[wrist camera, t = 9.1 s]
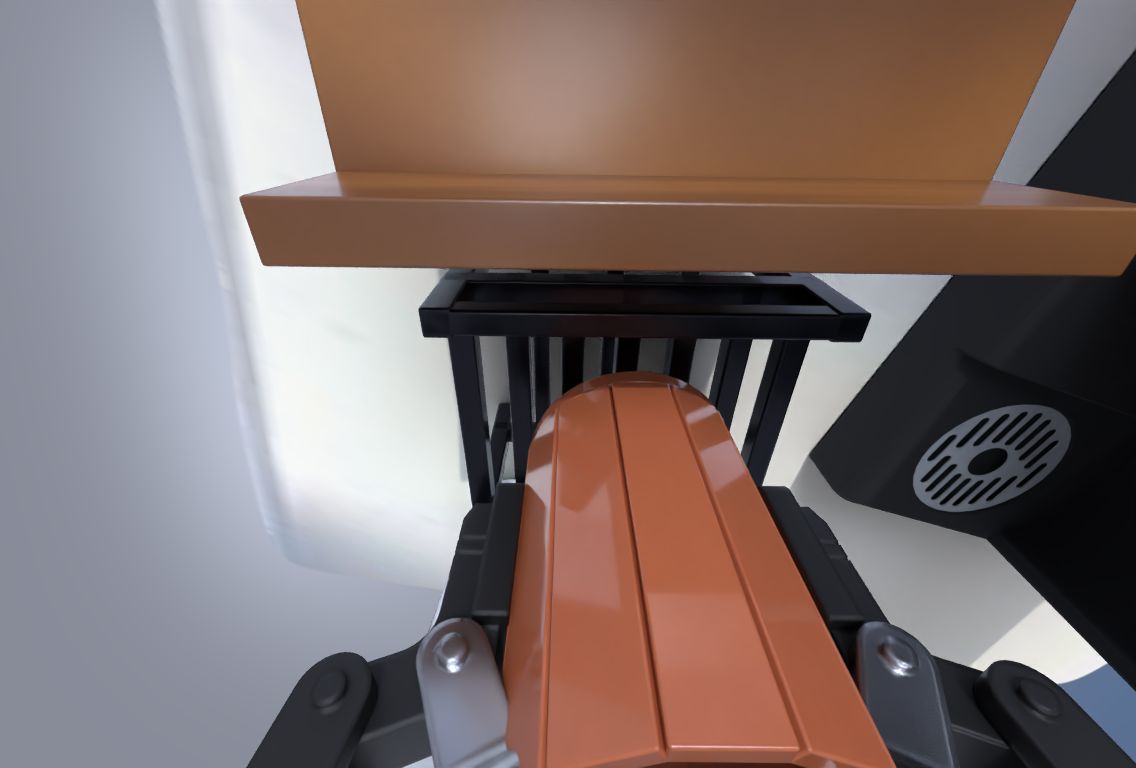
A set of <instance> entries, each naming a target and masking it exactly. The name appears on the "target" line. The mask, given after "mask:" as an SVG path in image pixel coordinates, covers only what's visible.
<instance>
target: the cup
mask: <svg viewBox="0 0 1136 768" xmlns="http://www.w3.org/2000/svg"><path fill="white" fill-rule="evenodd" d="M501 681H502V684H503V687H504V690H505V693H506V696H507V699H508V702H509V708H508V718H507V727H506V747H507V750H509V751H512V750H513V751H515V752H516V753H517V755H518V759H519V766H520V768H897V767H896V765H895V763H894V761H893V759H892V757H891V755H890V753H889V751H888V749H887V747H886V745H885V743H884V741H883V739H882V737H881V735H880V733H879V731H878V729H877V727H876V725H875V723H874V721H873V719H872V717H871V715H870V713H869V711H868V709H867V707H866V705H865V703H864V701H863V699H862V697H861V695H860V693H859V691H858V689H857V687H856V685H855V683H854V681H853V679H852V677H851V675H850V673H849V671H848V669H847V667H846V665H845V663H844V661H843V659H842V657H841V655H840V653H839V651H838V649H837V647H836V645H835V643H834V641H833V639H832V637H831V635H830V633H829V631H828V629H827V627H826V625H825V623H824V621H823V619H822V617H821V615H820V613H819V611H818V609H817V607H816V605H815V603H814V601H813V599H812V597H811V595H810V593H809V591H808V589H807V587H806V585H805V583H804V581H803V579H802V577H801V575H800V573H799V571H798V569H797V567H796V565H795V563H794V561H793V559H792V557H791V555H790V553H789V551H788V549H787V547H786V545H785V543H784V541H783V539H782V537H781V535H780V533H779V531H778V529H777V527H776V525H775V523H774V521H773V519H772V517H771V515H770V513H769V511H768V509H767V507H766V505H765V503H764V501H763V499H762V497H761V495H760V493H759V491H758V489H757V487H756V485H755V483H754V481H753V479H752V477H751V475H750V473H749V471H748V469H747V467H746V465H745V463H744V461H743V459H742V457H741V455H740V453H739V451H738V449H737V447H736V445H735V443H734V441H733V439H732V437H731V435H730V433H729V431H728V429H727V427H726V425H725V423H724V421H723V419H722V417H721V415H720V413H719V411H718V410H717V409H716V407H715V406H714V405H713V404H712V403H711V401H710V400H709V399H708V398H707V397H706V396H705V395H704V394H702V393H701V392H700V391H699V390H697V389H696V388H694V387H693V386H691V385H690V384H687V383H685V382H683V381H681V380H679V379H677V378H674V377H670V376H667V375H664V374H659V373H653V372H643V371H626V372H617V373H611V374H606V375H603V376H599V377H595V378H593V379H590V380H588V381H585V382H583V383H581V384H579V385H577V386H575V387H574V388H572V389H570V390H569V391H567V392H566V393H565V394H563V395H562V396H560V397H559V398H558V399H557V400H556V401H555V402H554V403H553V404H552V405H551V406H550V407H549V408H548V410H547V411H546V412H545V413H544V415H543V416H542V418H541V420H540V421H539V423H538V425H537V427H536V430H535V432H534V436H533V440H532V442H531V444H530V448H529V453H528V461H527V469H526V477H525V491H524V500H523V508H522V517H521V525H520V534H519V542H518V551H517V559H516V568H515V576H514V585H513V593H512V602H511V610H510V619H509V626H508V627H507V634H506V642H505V650H504V659H503V667H502V675H501Z"/></svg>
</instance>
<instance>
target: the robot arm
mask: <svg viewBox="0 0 1136 768" xmlns="http://www.w3.org/2000/svg"><path fill="white" fill-rule="evenodd" d="M756 487H757V489H758V491H759V493H760V495H761V497H762V499H763V501H764V503H765V505H766V507H767V509H768V511H769V513H770V515H771V517H772V519H773V521H774V523H775V525H776V527H777V529H778V531H779V533H780V535H781V537H782V539H783V541H784V543H785V545H786V547H787V549H788V551H789V553H790V555H791V557H792V559H793V561H794V563H795V565H796V567H797V569H798V571H799V573H800V575H801V577H802V579H803V581H804V583H805V585H806V587H807V589H808V591H809V593H810V595H811V597H812V599H813V601H814V603H815V605H816V607H817V609H818V611H819V613H820V615H821V617H822V619H823V621H824V623H825V625H826V627H827V629H828V631H829V633H830V635H831V637H832V639H833V641H834V643H835V645H836V647H837V649H838V651H839V653H840V655H841V657H842V659H843V661H844V663H845V665H846V667H847V669H848V671H849V673H850V675H851V677H852V679H853V681H854V683H855V685H856V687H857V689H858V691H859V693H860V695H861V697H862V699H863V701H864V703H865V705H866V707H867V709H868V711H869V713H870V715H871V717H872V719H873V721H874V723H875V725H876V727H877V729H878V731H879V733H880V735H881V737H882V739H883V741H884V743H885V745H886V747H887V749H888V751H889V753H890V755H891V757H892V759H893V761H894V763H895V765H896V767H897V768H1136V763H1135V762H1134V761H1133V760H1132V759H1131V758H1130V757H1129V756H1128V755H1127V754H1126V753H1125V752H1124V751H1123V750H1122V749H1121V748H1120V747H1119V746H1118V745H1117V744H1116V743H1115V742H1114V741H1113V740H1112V739H1111V738H1110V737H1109V736H1108V735H1107V734H1106V732H1105V731H1104V730H1102V728H1101V727H1100V726H1098V724H1097V723H1096V722H1095V721H1094V720H1093V719H1092V718H1091V717H1090V716H1089V715H1088V714H1087V713H1086V712H1085V711H1084V710H1083V709H1082V708H1081V707H1080V706H1079V705H1078V704H1077V703H1076V702H1075V701H1074V700H1073V699H1072V698H1071V697H1070V696H1069V695H1068V694H1067V693H1066V692H1065V691H1064V690H1063V689H1062V688H1061V687H1060V686H1058V685H1057V684H1056V683H1055V682H1053V681H1052V680H1051V679H1049V678H1048V677H1046V676H1045V675H1043V674H1042V673H1040V672H1038V671H1037V670H1035V669H1033V668H1031V667H1028V666H1026V665H1023V664H1021V663H1018V662H1014V661H1008V660H1000V661H996V662H994V663H992V664H991V665H990V666H989V667H988V668H987V669H986V670H985V671H984V672H983V671H980V670H977V669H973V668H970V667H967V666H964V665H961V664H957V663H954V662H951V661H948V660H945V659H941V658H939V657H936V656H933V655H931V654H930V653H929V651H928V650H927V649H926V648H925V647H924V646H923V645H922V644H921V643H920V642H919V641H918V640H917V639H916V638H914V637H913V636H912V635H910V634H909V633H907V632H906V631H904V630H902V629H901V628H899V627H896V626H894V625H891V624H890V623H889V621H888V620H887V618H886V617H885V615H884V614H883V612H882V611H881V609H880V607H879V606H878V604H877V603H876V601H875V599H874V598H873V596H872V595H871V593H870V591H869V590H868V588H867V587H866V585H865V583H864V582H863V580H862V579H861V577H860V576H859V574H858V572H857V571H856V569H855V568H854V566H853V564H852V563H851V561H850V560H848V559H847V557H848V556H847V555H846V553H845V552H844V550H843V548H842V547H841V545H838V540H837V539H836V537H835V536H834V534H833V532H832V531H831V529H830V528H829V526H828V525H827V523H826V522H825V521H824V520H823V519H821V518H820V517H819V516H818V515H817V514H816V513H815V512H814V511H812V510H811V509H810V508H809V507H800V506H799V505H798V503H797V501H796V499H795V498H794V496H793V494H792V493H791V491H790V490H789V489H788V488H787V487H785V486H756ZM524 491H525V483H497V484H496V488H495V493H494V498H493V503H475V505H474V506H473V507H472V509H471V510H470V511H469V512H468V514H467V515H466V516H465V518H464V520H463V524H462V528H461V531H460V535H459V540H458V543H457V547H456V551H455V555H454V558H453V562H452V566H451V570H450V574H449V578H448V581H447V585H446V589H445V593H444V597H443V601H442V605H441V608H440V612H439V615H438V618H437V620H436V622H435V624H434V625H433V627H432V628H431V630H430V631H429V632H428V633H427V634H426V636H425V637H423V638H422V639H421V640H420V641H419V642H417V643H416V644H415V645H413V646H411V647H410V648H408V649H406V650H403V651H400V652H397V653H394V654H392V655H388V656H385V657H382V658H379V659H376V660H373V661H370V662H367V661H366V660H365V659H364V658H363V657H362V656H360V655H358V654H355V653H350V652H343V653H337V654H334V655H331V656H329V657H326V658H324V659H323V660H321V661H319V662H318V663H316V664H315V665H314V666H312V667H311V668H310V669H309V670H308V671H307V672H306V673H305V674H304V675H303V676H302V678H301V679H300V680H299V682H298V683H297V685H296V686H295V688H294V689H293V691H292V693H291V694H290V696H289V698H288V699H287V701H286V703H285V704H284V706H283V708H282V709H281V711H280V713H279V714H278V716H277V717H276V719H275V721H274V723H273V724H272V726H271V727H270V729H269V731H268V732H267V734H266V736H265V738H264V739H263V741H262V742H261V744H260V746H259V747H258V749H257V751H256V752H255V754H254V756H253V758H252V759H251V761H250V762H249V764H248V766H247V767H246V768H403V767H405V766H408V765H410V764H413V763H415V762H418V761H420V760H423V759H425V758H427V757H430V756H432V758H433V764H434V768H520V766H519V759H518V755H517V753H516V752H515V751H513V750H512V751H509V750H507V747H506V727H507V718H508V708H509V702H508V699H507V696H506V693H505V690H504V687H503V684H502V681H501V675H502V667H503V659H504V650H505V642H506V634H507V627H508V626H509V619H510V610H511V602H512V593H513V585H514V576H515V568H516V559H517V551H518V542H519V534H520V525H521V517H522V508H523V500H524Z"/></svg>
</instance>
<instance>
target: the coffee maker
mask: <svg viewBox="0 0 1136 768" xmlns="http://www.w3.org/2000/svg"><path fill="white" fill-rule="evenodd" d="M1028 186H1029V187H1035V188H1042V189H1048V190H1054V191H1061V192H1067V193H1073V194H1079V195H1086V196H1092V197H1098V198H1105V199H1111V200H1117V201H1124V202H1130V203H1136V53H1135V54H1134V55H1133V56H1132V57H1131V59H1130V60H1129V61H1128V62H1127V64H1126V65H1125V66H1124V67H1123V69H1122V70H1121V71H1120V72H1119V74H1118V75H1117V76H1116V77H1115V78H1114V80H1113V81H1112V82H1111V83H1110V85H1109V86H1108V87H1107V88H1106V90H1105V91H1104V92H1103V93H1102V95H1101V96H1100V97H1099V98H1098V99H1097V101H1096V102H1095V103H1094V104H1093V106H1092V107H1091V108H1090V109H1089V111H1088V112H1087V113H1086V114H1085V116H1084V117H1083V118H1082V119H1081V120H1080V122H1079V123H1078V124H1077V125H1076V127H1075V128H1074V129H1073V130H1072V132H1071V133H1070V134H1069V135H1068V137H1067V138H1066V139H1065V140H1064V141H1063V143H1062V144H1061V145H1060V146H1059V148H1058V149H1057V150H1056V151H1055V153H1054V154H1053V155H1052V156H1051V158H1050V159H1049V160H1048V161H1047V162H1046V164H1045V165H1044V166H1043V167H1042V169H1041V170H1040V171H1039V172H1038V174H1037V175H1036V176H1035V177H1034V179H1033V180H1032V181H1031V182H1030V183H1029V185H1028ZM810 458H811V459H812V461H813V462H814V463H815V465H816V466H817V468H818V469H819V471H820V472H821V473H822V475H823V476H824V478H825V479H826V481H827V482H828V483H829V485H830V486H831V488H832V489H833V490H834V491H835V492H836V493H837V494H838V495H839V496H841V497H842V498H844V499H846V500H848V501H850V502H854V503H857V504H861V505H865V506H868V507H872V508H876V509H879V510H883V511H886V512H890V513H894V514H897V515H901V516H905V517H908V518H912V519H916V520H919V521H923V522H927V523H930V524H934V525H937V526H941V527H945V528H948V529H952V530H956V531H959V532H963V533H967V534H970V535H974V536H978V537H981V538H985V539H987V540H988V541H989V542H990V543H991V544H992V545H993V546H994V547H995V548H996V549H997V550H998V551H999V552H1000V554H1001V555H1002V556H1003V557H1004V558H1005V559H1006V560H1007V561H1008V562H1009V563H1010V564H1011V565H1012V566H1013V567H1014V568H1015V569H1016V570H1017V571H1018V572H1019V573H1020V574H1021V575H1022V576H1023V577H1024V578H1025V579H1026V580H1027V581H1028V582H1029V583H1030V584H1031V585H1032V586H1033V587H1034V588H1035V589H1036V590H1037V591H1038V592H1039V593H1040V594H1041V595H1042V596H1043V597H1044V598H1045V599H1046V600H1047V601H1048V602H1049V604H1050V605H1051V606H1052V607H1053V608H1054V609H1055V610H1056V611H1057V612H1058V613H1059V614H1060V615H1061V616H1062V617H1063V618H1064V619H1065V620H1066V621H1067V622H1068V623H1069V624H1070V625H1071V626H1072V627H1073V628H1074V629H1075V630H1076V631H1077V632H1078V633H1079V634H1080V635H1081V636H1082V637H1083V638H1084V639H1085V640H1086V641H1087V642H1088V643H1089V644H1090V645H1091V646H1092V647H1093V648H1094V649H1095V650H1096V651H1097V653H1098V654H1099V655H1100V656H1101V657H1102V658H1103V659H1104V660H1105V661H1106V662H1107V663H1108V664H1109V665H1110V666H1111V667H1112V668H1113V669H1114V670H1115V671H1116V672H1117V673H1118V674H1119V675H1120V676H1121V677H1122V678H1123V679H1124V680H1125V681H1126V682H1127V683H1128V684H1129V685H1130V686H1131V687H1132V688H1133V689H1134V690H1135V691H1136V254H1135V256H1134V257H1133V259H1132V260H1131V262H1130V263H1129V265H1128V266H1127V267H1126V269H1125V270H1124V272H1123V273H1122V274H1121V275H1120V276H1118V277H1079V276H1000V275H955V276H954V277H953V279H952V280H951V281H950V282H949V284H948V285H947V286H946V287H945V289H944V290H943V291H942V292H941V293H940V295H939V296H938V297H937V298H936V300H935V301H934V302H933V303H932V305H931V306H930V307H929V308H928V310H927V311H926V312H925V313H924V314H923V316H922V317H921V318H920V319H919V321H918V322H917V323H916V324H915V326H914V327H913V328H912V329H911V331H910V332H909V333H908V334H907V335H906V337H905V338H904V339H903V340H902V342H901V343H900V344H899V345H898V347H897V348H896V349H895V350H894V352H893V353H892V354H891V355H890V356H889V358H888V359H887V360H886V361H885V363H884V364H883V365H882V366H881V368H880V369H879V370H878V371H877V373H876V374H875V375H874V376H873V377H872V379H871V380H870V381H869V382H868V384H867V385H866V386H865V387H864V389H863V390H862V391H861V392H860V394H859V395H858V396H857V397H856V398H855V400H854V401H853V402H852V403H851V405H850V406H849V407H848V408H847V410H846V411H845V412H844V413H843V415H842V416H841V417H840V418H839V419H838V421H837V422H836V423H835V424H834V426H833V427H832V428H831V429H830V431H829V432H828V433H827V434H826V436H825V437H824V438H823V439H822V440H821V442H820V443H819V444H818V445H817V447H816V448H815V449H814V450H813V452H812V453H811V454H810Z"/></svg>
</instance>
